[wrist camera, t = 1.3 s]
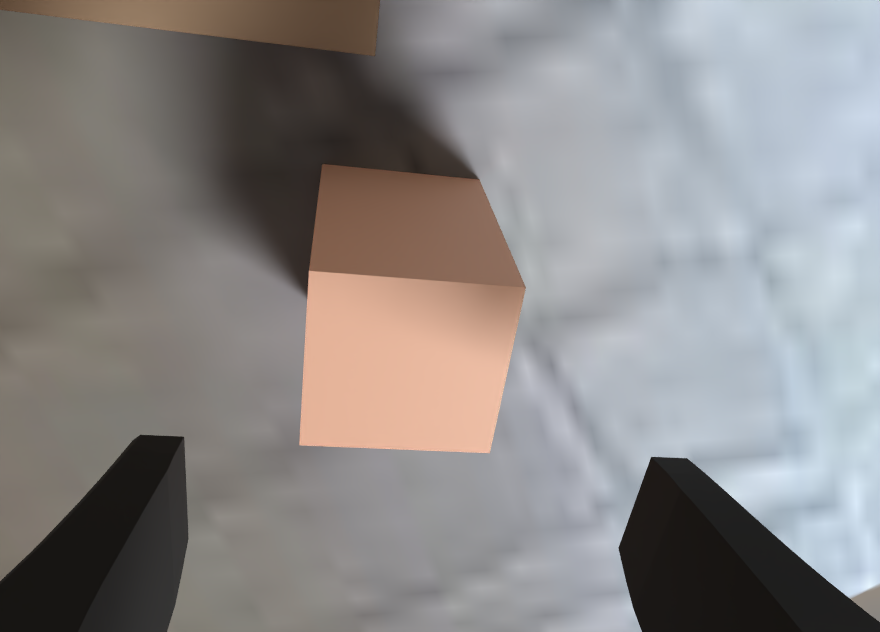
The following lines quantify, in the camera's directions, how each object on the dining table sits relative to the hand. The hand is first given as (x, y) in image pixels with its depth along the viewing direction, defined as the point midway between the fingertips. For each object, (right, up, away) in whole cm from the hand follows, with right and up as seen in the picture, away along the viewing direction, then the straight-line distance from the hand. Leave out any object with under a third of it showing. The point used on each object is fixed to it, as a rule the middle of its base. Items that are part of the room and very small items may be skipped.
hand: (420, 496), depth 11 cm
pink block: (-1, +5, +8) cm, 10 cm away
